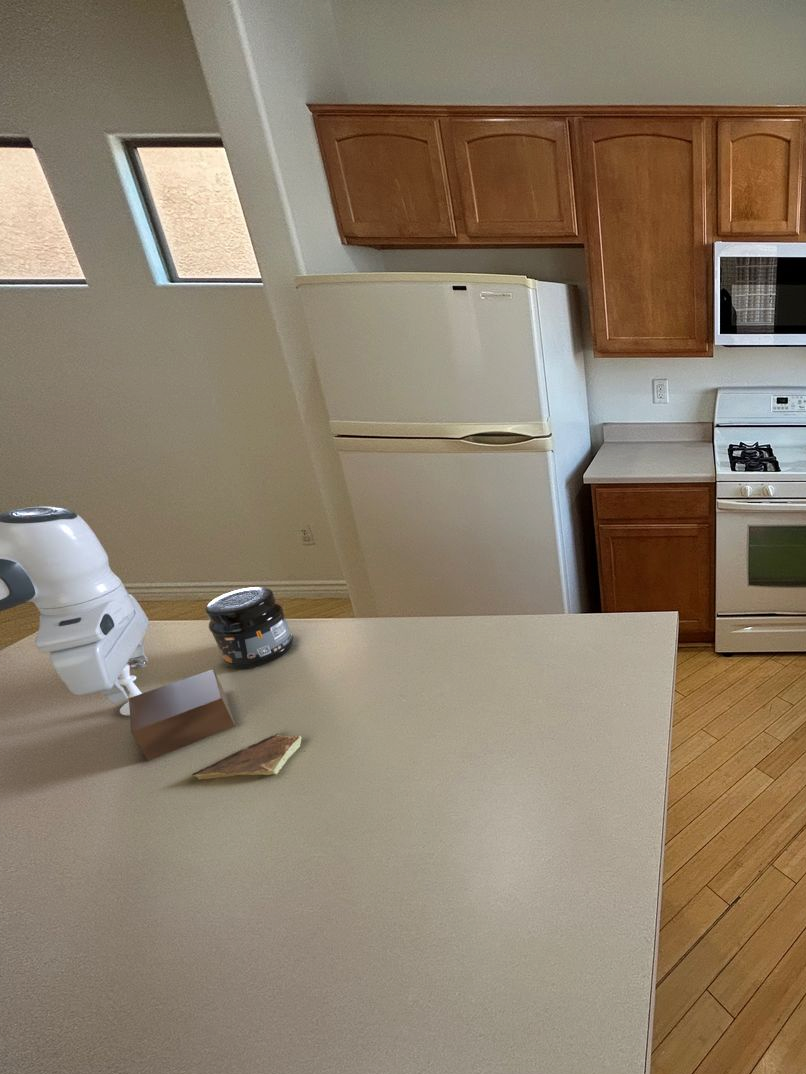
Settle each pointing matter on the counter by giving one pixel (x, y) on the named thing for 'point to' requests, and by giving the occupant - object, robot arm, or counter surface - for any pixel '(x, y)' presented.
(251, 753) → the shard
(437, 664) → the counter surface
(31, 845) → the counter surface
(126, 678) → the chess piece
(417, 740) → the counter surface
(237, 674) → the counter surface
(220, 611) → the supplement container
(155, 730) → the walnut block
